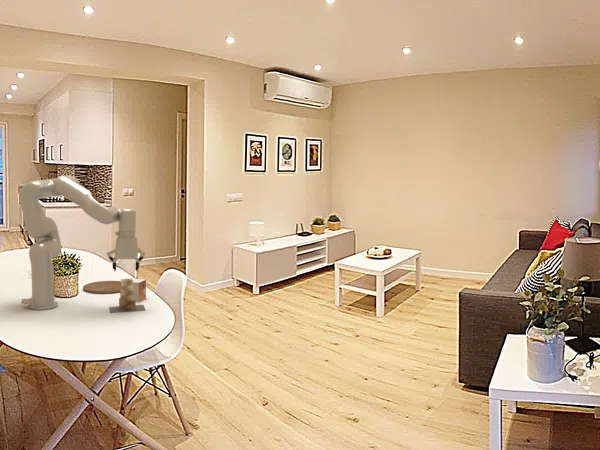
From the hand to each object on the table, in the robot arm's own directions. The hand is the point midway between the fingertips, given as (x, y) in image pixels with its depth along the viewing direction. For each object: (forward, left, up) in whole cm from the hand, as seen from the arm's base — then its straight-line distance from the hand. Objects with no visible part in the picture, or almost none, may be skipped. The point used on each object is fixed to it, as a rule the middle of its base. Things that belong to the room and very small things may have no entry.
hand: (125, 270), depth 250 cm
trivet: (-6, +45, -20) cm, 49 cm away
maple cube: (+1, 0, -10) cm, 10 cm away
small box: (+7, +15, -19) cm, 25 cm away
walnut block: (+1, 0, -19) cm, 19 cm away
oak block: (+1, 0, -14) cm, 14 cm away
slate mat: (+1, 0, -19) cm, 19 cm away
